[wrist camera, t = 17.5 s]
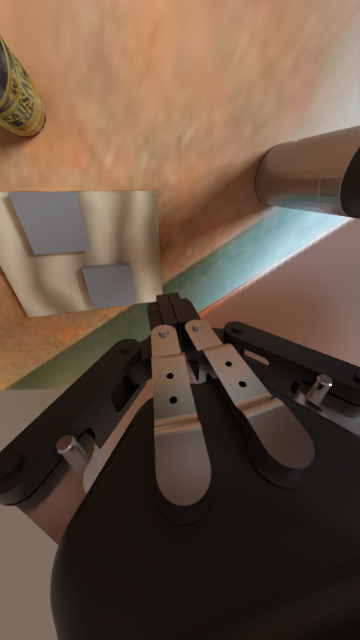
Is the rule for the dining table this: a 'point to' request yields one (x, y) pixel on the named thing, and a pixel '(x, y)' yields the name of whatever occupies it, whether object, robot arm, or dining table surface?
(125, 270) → the slate tile
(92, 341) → the dining table surface
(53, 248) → the slate tile
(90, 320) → the dining table surface
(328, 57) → the dining table surface
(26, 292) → the white flat sheet
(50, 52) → the dining table surface
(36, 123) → the sauce bottle
